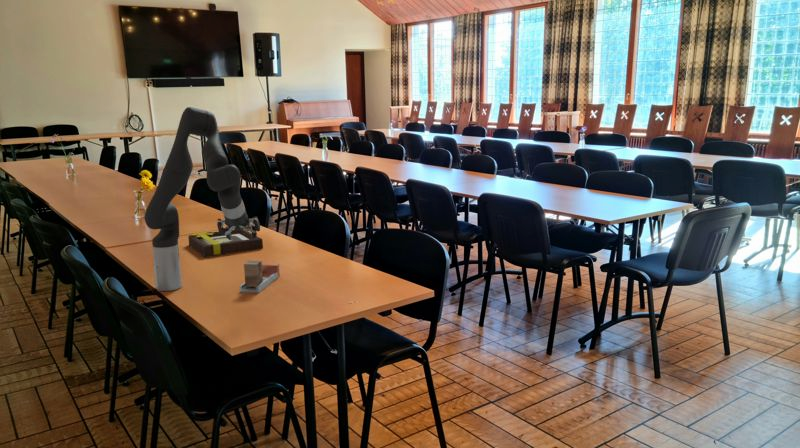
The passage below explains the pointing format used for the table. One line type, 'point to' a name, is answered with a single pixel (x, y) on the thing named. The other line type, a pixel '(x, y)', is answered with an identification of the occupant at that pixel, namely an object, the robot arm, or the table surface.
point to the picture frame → (224, 242)
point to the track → (268, 274)
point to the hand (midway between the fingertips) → (242, 237)
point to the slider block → (253, 273)
